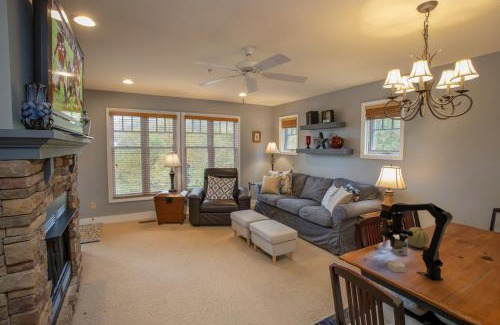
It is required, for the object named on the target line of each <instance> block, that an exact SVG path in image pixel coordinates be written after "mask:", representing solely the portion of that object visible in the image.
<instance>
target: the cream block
mask: <svg viewBox="0 0 500 325" xmlns="http://www.w3.org/2000/svg"><path fill="white" fill-rule="evenodd" d="M387 268H388V269H390V271H392V272H393V273H406V269H407V266H406V265H405V264H404V263H402V262H401V261H400V260H388V261H387Z"/></svg>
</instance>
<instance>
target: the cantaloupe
mask: <svg viewBox="0 0 500 325" xmlns="http://www.w3.org/2000/svg"><path fill="white" fill-rule="evenodd" d="M408 230H410V231H412V232H413V236H408V235H407V236H408V238H407V240H408V244H409V245H410V246H412V247H414V248H419V249H421V248H424V247H426V246H427V245H428V244H429V241H430V237H429V233H428V232H427V231H426V230H424V229H423V228H422V227H417V226H414V227H410V228H409V229H408Z"/></svg>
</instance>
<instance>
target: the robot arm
mask: <svg viewBox="0 0 500 325" xmlns="http://www.w3.org/2000/svg"><path fill="white" fill-rule="evenodd" d="M408 211H409V212H411V211H413V212H415V211H427V212H428V213H429V215H431V217H433V218H434V225H435V226H434V231H433V234H432V238H431V239H430V243H429V247H427V248H425V249H423V251H422V254H421V258H422V261H423V262H424V265H425V268H426V273H424V276H426V277H427V278H428V279H430V280H432V281H443V280H444V278H443V277H442V276H441V275H442V269H441V268H442V267H443V265H444V263H443V261H442V260H441V259H440V251H439V250H440V246H441V244H442V240H443V237H444V234H445V232H446V229H447V227H448V226H449V225H450V223H451V222H452V220H453V216H454V215H452V213H450V212H449V211H447V210H445V209H443V208H441V207H439V206H438V205H435V204H434V203H432V202H428V203H410V204H409V203H405V202H404V203H403V202H397V203H393V204H391V207H390V209H386V208H382V209H381V211H380V214H379V217H380V219H381V220H386V221H392V222H390V224H389V223H383V228H384V229H382V230H381V231H380V235H381V236H383V237H384V238H388V240H389V244H390V243H391V245H392V246H394V241H395V237H394V235H399V240H401V241H403V242H404V241H405V240H406V239H407V238H408V236H413V232H412V231H410V230H409V229H403V228H405V225H404V224H403V219H404V218H406V217H407V215H406V214H405V213H404V212H408ZM407 235H408V236H407Z"/></svg>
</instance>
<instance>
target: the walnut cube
mask: <svg viewBox="0 0 500 325" xmlns="http://www.w3.org/2000/svg"><path fill="white" fill-rule="evenodd" d="M389 247H391V249H392V248H394V249H403V241H401V240H399V239H395V241H394V246H392V245H391V243H390V242H389Z"/></svg>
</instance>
